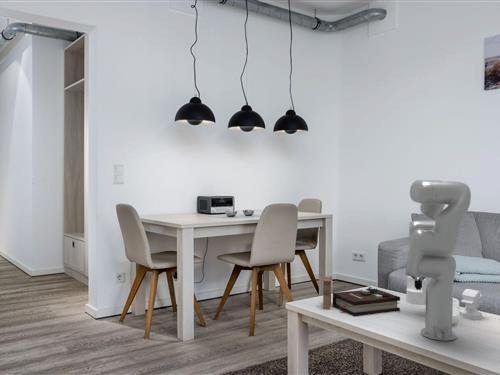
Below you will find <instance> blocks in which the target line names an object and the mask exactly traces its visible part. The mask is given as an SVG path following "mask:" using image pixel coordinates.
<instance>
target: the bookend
mask: <svg viewBox="0 0 500 375" xmlns="http://www.w3.org/2000/svg"><path fill="white" fill-rule="evenodd" d="M332 280H333V276H329V275H325V276H324V278H323V294H322V296H323V298H322V305H323V306H322V309H323V310H330V309H331V306H332Z"/></svg>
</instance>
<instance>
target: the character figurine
mask: <svg viewBox="0 0 500 375" xmlns="http://www.w3.org/2000/svg"><path fill="white" fill-rule="evenodd" d="M461 298H462V299H461V300H460V302H461V303H463V304H465V306H464V309H461V310H459V316H460V317H461V319H462V318H463V319H466V320H471V321H481V320H482V319H483V313H482V312H481V311H478V308H480V306H481V305H482V303H483V302H482V300H481V299H482V298H484V296H483V294H482V293H481V292H480V290H475V289H470V288H466V289H464V291H463V292H462V293H461Z"/></svg>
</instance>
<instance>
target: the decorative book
mask: <svg viewBox="0 0 500 375" xmlns="http://www.w3.org/2000/svg"><path fill="white" fill-rule="evenodd" d="M400 301H401V297H400V296H398V295H395V294H392V293H389V292H387V291H384V290H381V289H378V288H373V287H372V286H370V287H369V286H368V287H367V288H366V289H361V290H351V291H350V290H349V291H338V292H332V307H334V308H335V309H336V310H339V311H342V312H344V313H346V314H348V315H349V316H353V317H359V316H368V315H376V314H384V313H394V312H400V311H401V308H400V307H398V304H400Z"/></svg>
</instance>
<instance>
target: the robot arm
mask: <svg viewBox="0 0 500 375" xmlns="http://www.w3.org/2000/svg"><path fill="white" fill-rule="evenodd" d="M409 188H410V189H409V196H410V199H411V201H413V202H414V203H418V204H420V206H419V209H420V212H421V214H423V215H424V216H425V217H427V218H429V219H430V220H411V221H409V229H408V230H409V232H408V235H409V236H408V238H409V239H408V240H409V242H408V243H409V245H408V250H407V252H406V260H405V262H406V263H405V275H406V277H408V276H410V277H412V278H413V279H414V280H415V288H416V290H421V288H422V281H423V280H424V279H427V278H429V279H431V280H429V282H427V284H426V304H425V319H424V327H423V328H421V329H420V334H421V335H422V336H423V337H425V338H428V339H430V340H436V341H442V342H443V341H444V342H449V341H455V340H456V339H457V337H458V336H457V333H456V332H454V331H453V314H454V313H453V312H454V311H453V307H454V301H453V300H454V281H455V280H454V279H455V275H456V270H457V260H456V259H455V257H454V256H453V255H451V254H453V253H454V252H455V250H456V249H457V244H458V240H459V235H460V230H461V225H462V222H463V220H464V218H465V216H466V215H467V213H468V210H469V208H470V205H471V198H472V196H471V195H472V194H471V188H470V187H469V185H468V184H466V183H464V182H461V181H453V180H451V181H450V180H445V181H444V180H440V179H417V180H414V181H413V182H412V184H411V185H410V187H409ZM446 205H447V206H446ZM445 206H446V207H445ZM417 277H418V278H419V280H418V279H417Z"/></svg>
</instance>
